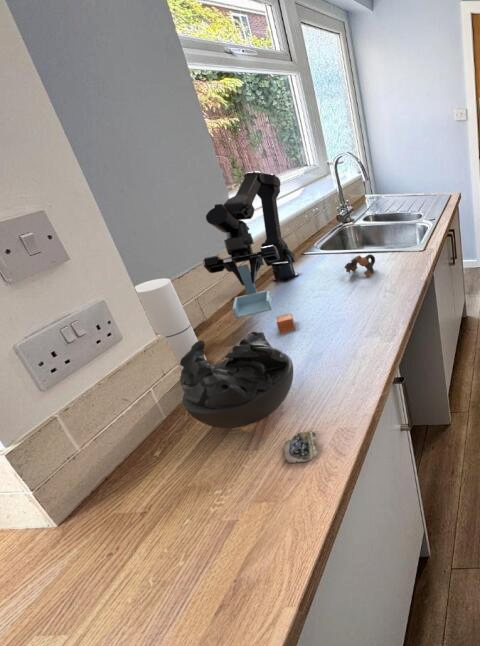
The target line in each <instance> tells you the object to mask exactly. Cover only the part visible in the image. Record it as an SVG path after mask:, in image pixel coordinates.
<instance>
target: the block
mask: <svg viewBox="0 0 480 646" xmlns="http://www.w3.org/2000/svg"><path fill="white" fill-rule="evenodd" d="M276 325H277V328H278V331H279V334H280V335H282V334H286V333H290V332H293V331H296V323H295V320H294V317H293V314H292V312H288V313H285V314H281V315H276Z"/></svg>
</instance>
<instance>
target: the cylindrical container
mask: <svg viewBox="0 0 480 646" xmlns="http://www.w3.org/2000/svg"><path fill="white" fill-rule="evenodd" d="M134 287H135V289H136V291H137V294H138V296H139V298H140V300H141V302H142V305H143V307H144V309H145V312H146V314H147V316H148V318H149V321H150V323H151V325H152V327H153V329H154V330H155V332H156V333H158V334H161V335H164V336H165V337H166V338H167V339H168V341H169V343H170V346H171V349H172V352H173V353H174V355H175V357H176V359H177V361H178V364H179V366H180V368H181V370H182V369H183V366H181V365H180V361H181V359H182V357H184V356H185V355H186V353H188V352H189V351H190V350H191V347H192V346H193V345H194V344H195V343H196V342H198V341H199V340H198V337H197V336H196V333H195V331H194V329H193V327H192V324H191V322H190V320H189V318H188V315H187V313H186V311H185V309H184V306H183V305H182V303H181V300H180V298H179V296H178V293H177V292H176V289H175V287H174V285H173V283H172V280H171V279H170V278H165V277H164V278H156V279H151V280H147V281H144V282H141V283H139V284H137V285H135V286H134ZM204 357H205V359H206V360H207V358H206V355H205V354H204ZM208 365H210V364H209V363H208Z"/></svg>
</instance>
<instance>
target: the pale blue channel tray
mask: <svg viewBox="0 0 480 646" xmlns="http://www.w3.org/2000/svg"><path fill="white" fill-rule="evenodd" d="M237 266H238V270H239V273H240V275H241V278H242V281H243V283H244V286H243V287H244V288H245V291H246V294H245V295H240V296H235V297H234V300H233V305H232V312H233V314H234V316H235V319H242V318H245V317H249V316H253V315H257V314H261V313H265V312H269V311H272V310H273V296H272V295H271V292H270V290H269V289H267V290H262V291H258V289H257V287H256V284H255V283H252V279H251V270H250V266H249V264H242V265H237Z"/></svg>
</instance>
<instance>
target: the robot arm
mask: <svg viewBox="0 0 480 646" xmlns="http://www.w3.org/2000/svg"><path fill="white" fill-rule="evenodd" d="M281 185H282V184H281V179H280V178H279V177H278V176H276V174H274V173H271V174H270V173H264V172H261V171H249V172H245V173H244V174H243V180H242V182H241V183H240V186H239V187H238V190H237V192H236V194H234V196H232V197H230V198H228V199H227V200H226V201H225V202H224V203H219V204H214V207H213V208H211V209H210V210H209V211H207V213H206V215H205V220H206V222H207V223H208V224H210V225H211V226H213V227H214V228H216V229H217V230H218V231H220V232H222V233H225V235H226V239H224V240H223V242H224V246H225V250H226V253H227V254H228V256H226V257H220V255H219V254H217V255H213V256H206V257H204V258H203V260H202V264H203V267H204V269H205V270H207V271H208V273H210V274H216V273H220V272H224V271H225V270H226V271H227V272H228V273H231V272H232V273H233V274H234V275H235V277H236V278H237V280H238V281H239V283H240V284H241V286H243V287H245V286H244V283H243V281H242V278H241V275H240V273H239V270H238V266H239V265H238V263H244V262H249V270H250V273H251V279H252V283H254V284H255V283H256V280H257V277H258V274H259V271H260V269H261V267H262V266H264V265H265V264H266V266H267V267H271V268H272V273H273V277H274V278H272V280H273V281H277V282H288V281H290V280H291V279H293V278H295V277H298V276H299V273H297V272H296V271H295V268H294V265H293V263H295V262H296V256H295V253H294V252H292V250H290V249H289V245H288V244H287V243H286V241H285V240H284V239H283V238H282V232H281V225H280V224H281V223H280V217H279V209H278V203H277V202H278V201H277V198H279V195H280V193H281ZM256 196H258V197H259V199H260V202H261V209H262V216H263V223H264V231H265V241H264V242H262V243H261V245H260V251H257V252H254V251H253V248H252V245H254V244H255V242H254V239H253V236H252V233H251V232H249V231H250V228H249V226H248V225H247V222H245V220H251V219H252V218H253V217H254V214H255V207H254V205H253V203H254V200H255V199H256Z"/></svg>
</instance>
